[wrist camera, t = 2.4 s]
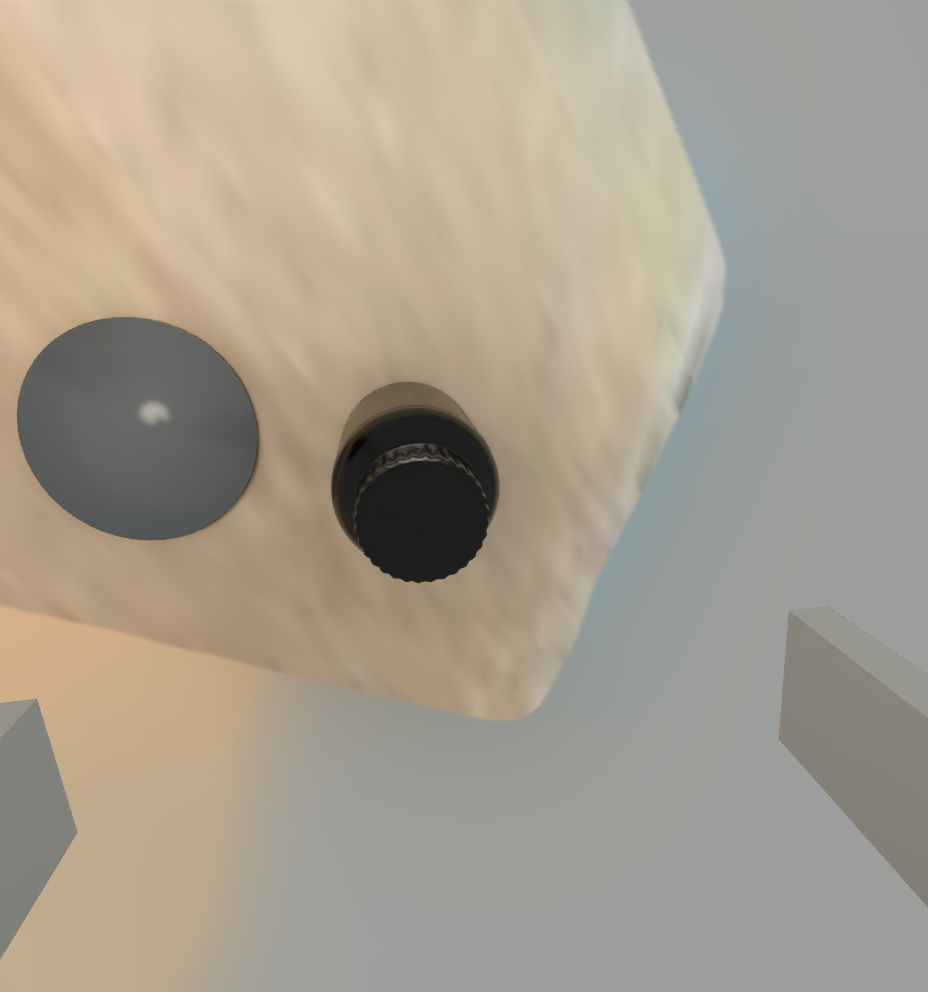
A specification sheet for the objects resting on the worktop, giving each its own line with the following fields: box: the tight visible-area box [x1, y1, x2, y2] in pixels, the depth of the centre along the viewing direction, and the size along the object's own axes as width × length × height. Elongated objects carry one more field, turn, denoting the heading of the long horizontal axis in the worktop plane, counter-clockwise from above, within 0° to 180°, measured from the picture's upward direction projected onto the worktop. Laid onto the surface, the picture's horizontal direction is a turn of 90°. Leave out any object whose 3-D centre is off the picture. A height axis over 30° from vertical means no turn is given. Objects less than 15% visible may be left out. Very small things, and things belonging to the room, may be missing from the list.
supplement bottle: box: [331, 382, 499, 583], centre depth 28 cm, size 7×7×12 cm
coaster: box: [17, 317, 258, 540], centre depth 32 cm, size 11×11×1 cm
